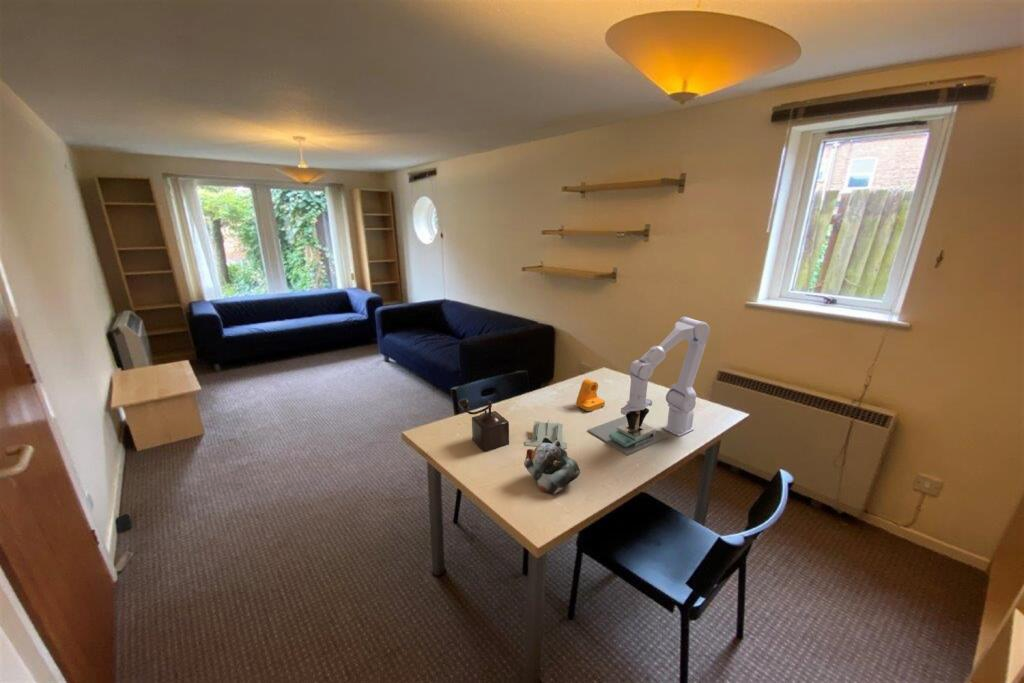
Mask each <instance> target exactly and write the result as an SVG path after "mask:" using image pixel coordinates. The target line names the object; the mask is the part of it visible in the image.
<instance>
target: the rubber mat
mask: <svg viewBox="0 0 1024 683" xmlns="http://www.w3.org/2000/svg"><path fill="white" fill-rule="evenodd" d="M626 423H628V421H627V418H626V415H623V416H621V417H619V418H615V419H613V420H610V421H607V422H604V423H603V424H600V425H596V426H594V427H591V428H588V429H587V432H588V433H590V434H592V435H593V436H595V437H597V438H598V439H600V440H601V441H603V442H604V443H606V444H608V445H609V446H611V447H613V448H615V449H616V450H617V451H619V452H621V453H622V454H624V455H626V456H630V455H632V454H635V453H636V452H638V451H639V452H640V451H641V450H643V449H646V448H648V447H650V446H652V445H655V444H657V443H659V442H661V441H663V440H666V439H668V438H669V435H667V434H664V433H663V432H661V431H659V430H656V431H655V439H653V440H651V441H649V442H646V443H644V444H642V445H639V446H637V447H633V446H632V445H629V446H627V447H625V446H623V445H621V444H620V443H618V442H616V441H614V440H613V439H611V438H609V434H611V433H613V432H616V431H618V430H617V427H618V426H620V425H623V424H626Z"/></svg>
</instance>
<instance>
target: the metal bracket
mask: <svg viewBox="0 0 1024 683" xmlns="http://www.w3.org/2000/svg"><path fill="white" fill-rule="evenodd" d="M547 420H548V421H547V422H543V421H534V422H533V429H532V432H531V433H532V434H531V439H526V440H525V443H524V444H525V446H526V447H531V448H534V447H535V448H536V447H537V446H538V445H539V444H541V443H542V441H543V439H544V438H548V439H549V440H550V441H551V442H552V443H553V442H555V441H556V440H559V441H560V444H561V446H562V447H563V448H564V449H565V450H567V449H568V442H566V441H565V442H563V430H564V429H563V426H564V424H563V423H559V422H555V423H554V422H550V421H549V419H547Z"/></svg>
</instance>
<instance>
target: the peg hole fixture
mask: <svg viewBox="0 0 1024 683" xmlns="http://www.w3.org/2000/svg"><path fill="white" fill-rule="evenodd" d="M617 430H618V431H616V432H613V433H611V434H609V438H611V439H613V440H614V441H616V442H618V443H620V444H621V445H623V446H625V447H627V446H629V445H632V446H633V447H637V446H639V445H642V444H644V443H646V442H649V441H651V440H653V439H655V431H656V428H654V427H653V426H650V425H648V424H646V423H644V422H643V423H642V425H641V427H639V430H638V432H636V433H635V432H633V431H631V430H630V428H629V426H628V423H626V424H623V425H620V426H618V427H617Z"/></svg>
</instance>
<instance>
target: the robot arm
mask: <svg viewBox="0 0 1024 683" xmlns="http://www.w3.org/2000/svg"><path fill="white" fill-rule="evenodd" d="M674 324H675V325H674V328H673V329H672V331H671V332H670V333H669V334H668V335H667V336H666V337H665V338H664V340H663V341H662V342H661V343H660V344H659V345H654V346H651V347H650V348H649V350H647V352H645V353H644V354H643V355H642V356H641V357H639V359H636V360H634V361H632V362H631V363H630V365H629V366H628V368H627V370H628V371H627V372H628V373H629V374H630V375H629V376H630V386H629V398H628V400H627V401H626V403H627V404H625V405H624V406H623V407H621V408H620V414H621V415H623V416H626V418H627V421H628V426H629V428H630V429H632V430H634V429H635V425H636V420H637V418H638V416H639V414H637V413H636V412H635V411H637V410H640V419H639V427H641V425H642V423H644V420H645V418H646V416H647V415H648V414H649V413H650V409H648V406H649V407H651V406H653V400H651V399H649V398H647V392H648V391H647V390H648V383H649V379H650V378H651V377H652V375H653V374H654V371H655V368H656V367H658V365H659V364H661V363H662V362H663V360H665V359H666V357H667V353H668V352H669V351H670V350H671V349H673V348H674V347H675V346H676V345H677V344H679V343H680V342H681V341H683V340H685V341H687V342H688V348H687V351H686V353H685V357H684V360H683V363H682V366H681V370H680V373H679V376H678V379H677V382H676V383H673V384H672V385H670V386H669V387H670V388H669V390H668V391H667V393H666V395H665V401H666V403H667V407H668V412H667V421H666V422H667V424H664V425H663V426H661V428H662V429H663V430H665V431H667V432H670V433H671V434H674V435H675V436H677V437H681V436H683V435H686V434H688V433H689V432H692V431H694V430H695V428H694V427H693V423H694V416H695V414H694V409H695V408H696V404H697V403H696V402H697V401H696V399H697V393H696V391H695V388H693V386H694V382H695V380H696V376H697V374H698V371H699V366H700V364H701V362H702V357H703V355H704V352H705V349H706V346H707V341H708V338H709V336H710V332H711V328H710V326H709V324H708V323H707V322H705V321H702V320H701V321H700V320H697V319H693V318H691V317H689V316H682V317H681V318H679V320H678V321H677V322H675V323H674Z"/></svg>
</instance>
